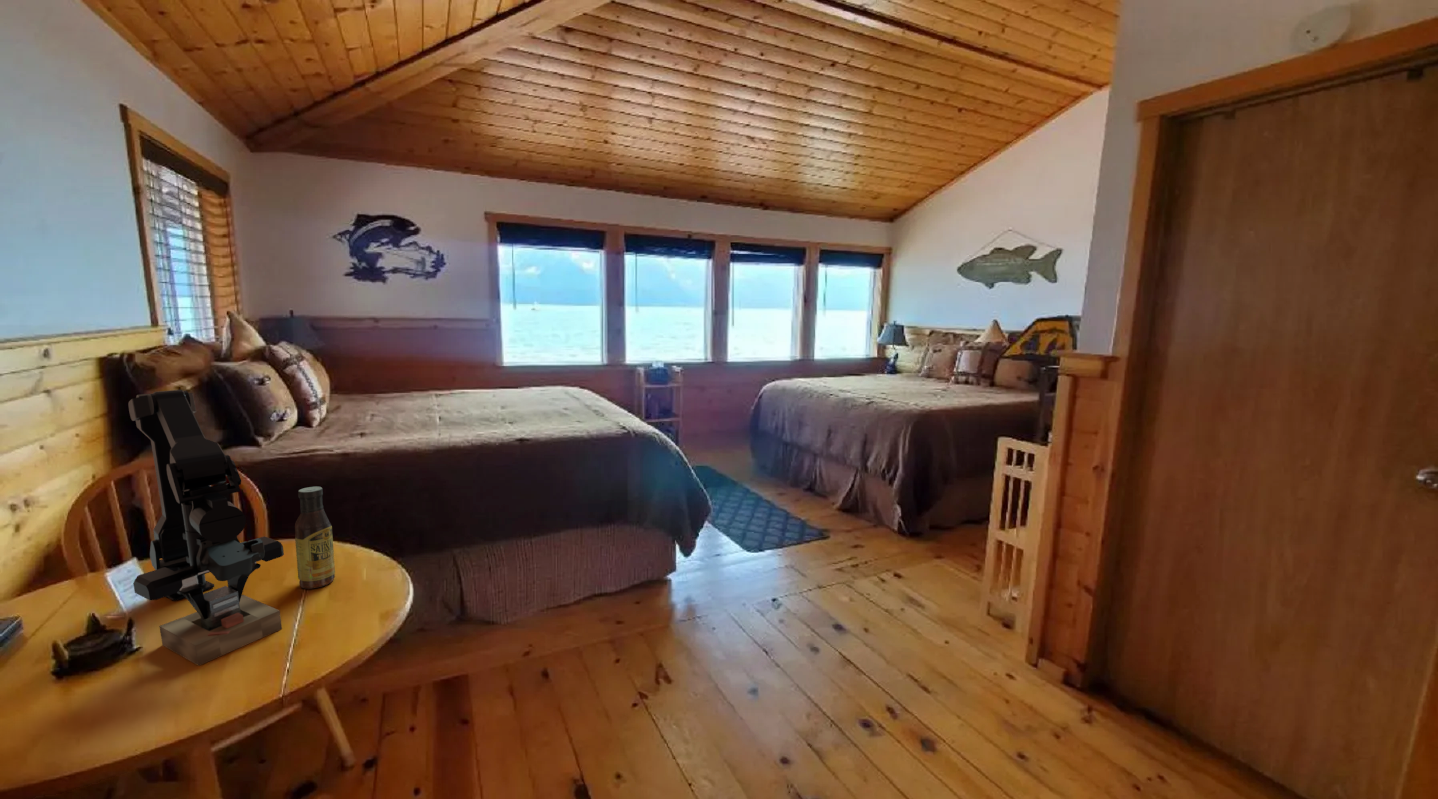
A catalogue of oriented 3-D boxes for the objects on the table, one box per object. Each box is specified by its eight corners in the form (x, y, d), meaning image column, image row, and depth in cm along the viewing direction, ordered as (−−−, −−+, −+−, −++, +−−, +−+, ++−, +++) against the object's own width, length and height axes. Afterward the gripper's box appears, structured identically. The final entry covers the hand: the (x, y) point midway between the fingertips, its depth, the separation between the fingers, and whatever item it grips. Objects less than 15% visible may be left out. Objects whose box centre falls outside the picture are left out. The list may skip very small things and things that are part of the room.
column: (202, 639, 101) (196, 595, 100) (230, 627, 105) (224, 585, 103) (216, 646, 99) (210, 602, 98) (244, 634, 103) (238, 591, 101)
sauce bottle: (317, 592, 118) (307, 496, 114) (291, 588, 119) (280, 493, 115) (344, 577, 124) (335, 485, 120) (319, 574, 125) (309, 483, 122)
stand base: (162, 645, 99) (158, 619, 98) (245, 612, 110) (242, 588, 109) (200, 666, 94) (196, 639, 93) (283, 629, 104) (280, 605, 103)
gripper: (159, 557, 87) (174, 654, 89) (296, 516, 103) (306, 599, 106) (124, 542, 92) (140, 635, 94) (261, 505, 108) (271, 585, 111)
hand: (220, 612), depth 101 cm, fingers closed on column, 4 cm apart
